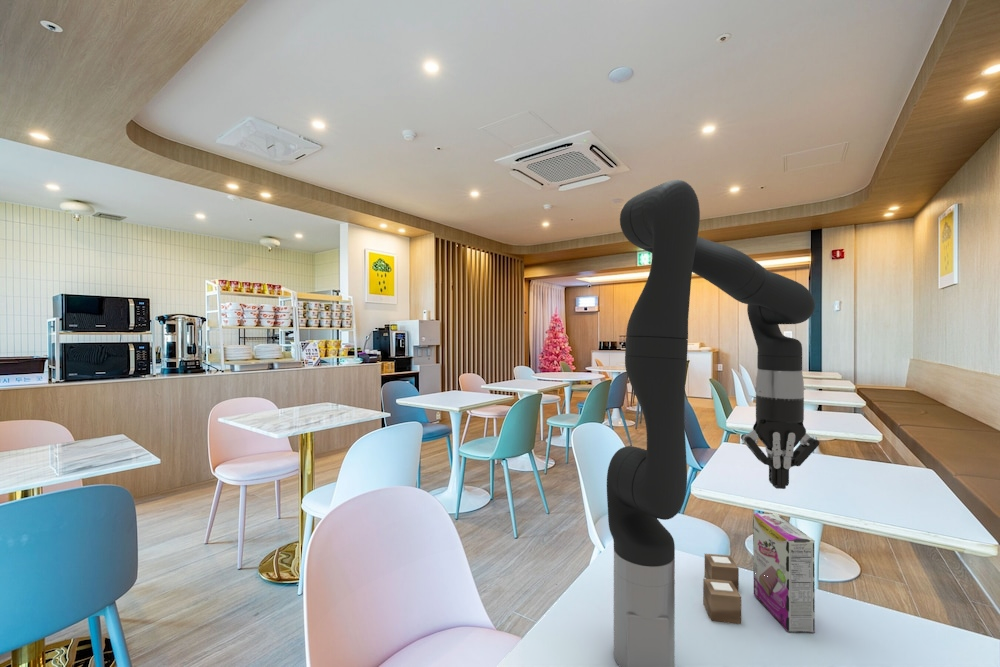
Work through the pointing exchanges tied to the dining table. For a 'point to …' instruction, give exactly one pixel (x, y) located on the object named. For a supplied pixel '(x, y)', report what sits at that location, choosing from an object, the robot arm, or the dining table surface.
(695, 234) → the robot arm
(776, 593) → the candy bar box
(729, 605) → the marked block near
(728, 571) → the marked block far
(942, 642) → the dining table surface
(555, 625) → the dining table surface
